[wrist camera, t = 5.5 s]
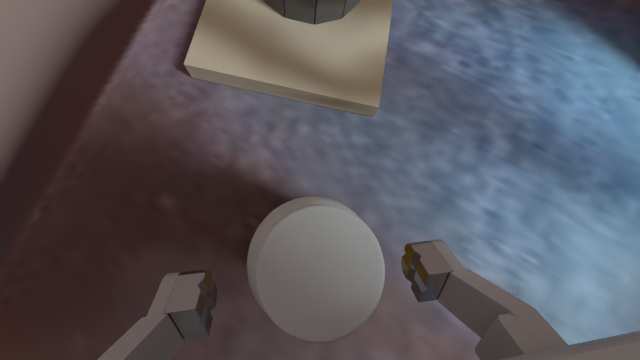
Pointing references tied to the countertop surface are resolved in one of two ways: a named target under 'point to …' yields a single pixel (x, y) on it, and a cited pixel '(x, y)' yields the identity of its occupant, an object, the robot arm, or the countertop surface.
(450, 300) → the robot arm
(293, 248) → the supplement bottle
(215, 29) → the collar stand
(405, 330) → the countertop surface
